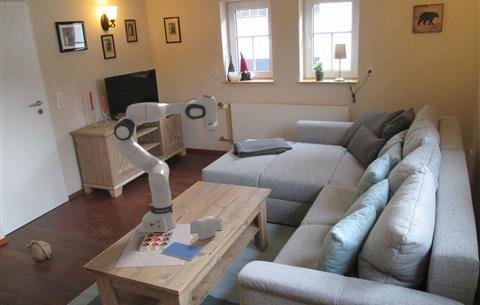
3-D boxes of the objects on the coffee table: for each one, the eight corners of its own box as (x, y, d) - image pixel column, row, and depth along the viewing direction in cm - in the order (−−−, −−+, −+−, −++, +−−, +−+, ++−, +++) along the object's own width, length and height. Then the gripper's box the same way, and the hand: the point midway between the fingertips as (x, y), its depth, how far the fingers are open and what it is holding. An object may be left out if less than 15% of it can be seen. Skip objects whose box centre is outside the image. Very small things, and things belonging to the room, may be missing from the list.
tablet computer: (160, 254, 212) (160, 251, 212) (174, 243, 223) (174, 240, 222) (190, 262, 203) (190, 259, 203) (203, 250, 214) (203, 248, 214)
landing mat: (191, 233, 231) (191, 232, 231) (190, 222, 245) (190, 222, 245) (221, 230, 234) (221, 229, 233) (220, 219, 247) (219, 219, 247)
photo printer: (213, 232, 231) (211, 213, 228) (216, 235, 228) (215, 216, 224) (197, 238, 226) (195, 218, 222) (200, 241, 222) (199, 221, 219)
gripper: (204, 119, 237) (205, 142, 241) (204, 128, 217) (206, 152, 221) (214, 119, 237) (215, 141, 241) (216, 127, 218) (217, 151, 222)
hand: (211, 146), depth 231 cm, fingers open, 8 cm apart
